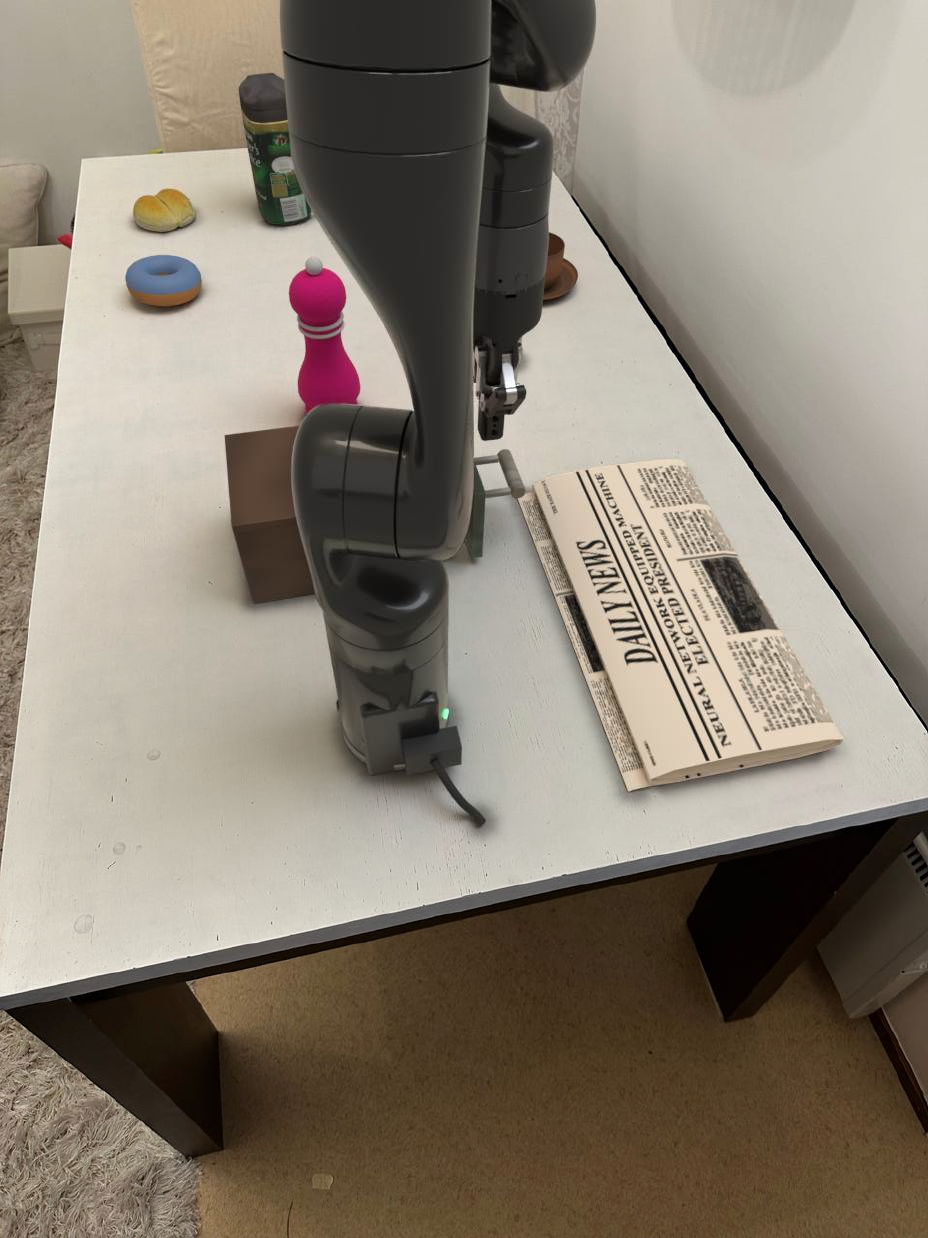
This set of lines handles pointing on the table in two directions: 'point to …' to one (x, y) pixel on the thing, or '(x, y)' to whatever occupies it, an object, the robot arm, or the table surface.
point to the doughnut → (163, 280)
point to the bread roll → (163, 211)
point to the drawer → (480, 494)
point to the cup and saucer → (558, 270)
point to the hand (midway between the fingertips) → (490, 435)
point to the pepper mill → (322, 337)
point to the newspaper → (670, 626)
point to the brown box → (266, 514)
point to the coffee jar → (271, 149)
